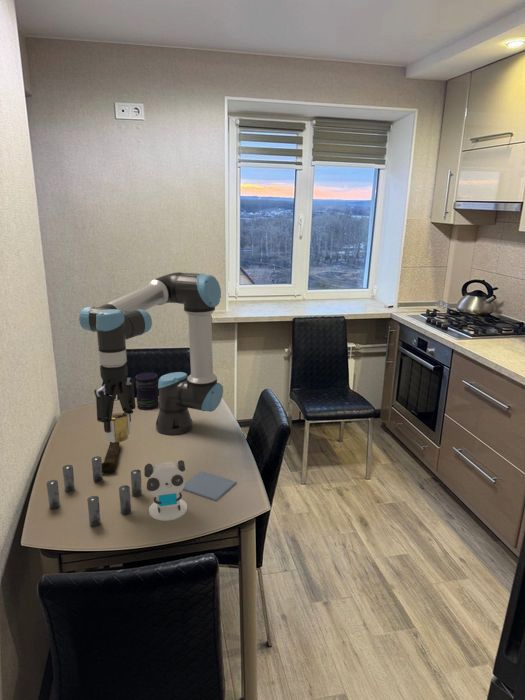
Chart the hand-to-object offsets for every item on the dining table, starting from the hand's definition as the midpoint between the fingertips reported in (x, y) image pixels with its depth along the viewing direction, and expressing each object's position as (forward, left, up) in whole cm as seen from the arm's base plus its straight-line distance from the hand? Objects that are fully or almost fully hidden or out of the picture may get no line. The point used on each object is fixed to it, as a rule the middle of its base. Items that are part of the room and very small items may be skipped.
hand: (118, 436), depth 143 cm
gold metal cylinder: (0, 0, 0) cm, 0 cm away
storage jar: (-61, -43, -21) cm, 77 cm away
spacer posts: (+6, -5, -20) cm, 22 cm away
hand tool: (-16, -21, -21) cm, 34 cm away
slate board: (-18, +20, -20) cm, 34 cm away
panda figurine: (-2, +16, -21) cm, 26 cm away
